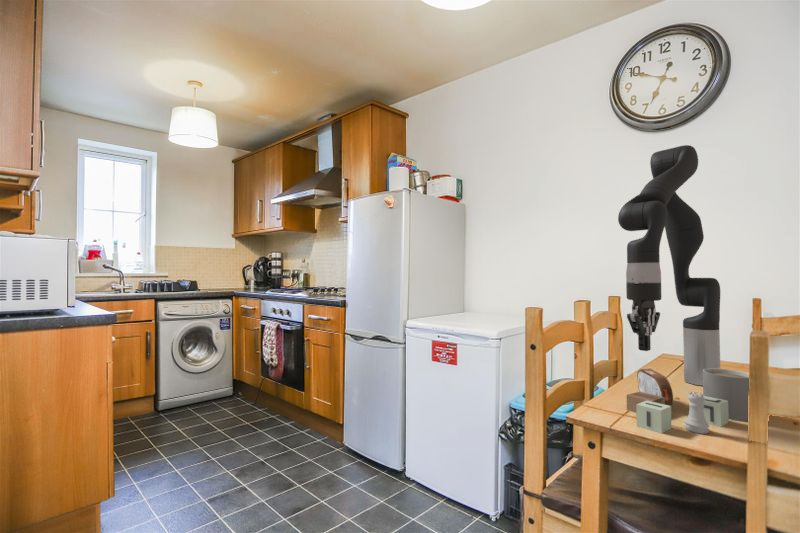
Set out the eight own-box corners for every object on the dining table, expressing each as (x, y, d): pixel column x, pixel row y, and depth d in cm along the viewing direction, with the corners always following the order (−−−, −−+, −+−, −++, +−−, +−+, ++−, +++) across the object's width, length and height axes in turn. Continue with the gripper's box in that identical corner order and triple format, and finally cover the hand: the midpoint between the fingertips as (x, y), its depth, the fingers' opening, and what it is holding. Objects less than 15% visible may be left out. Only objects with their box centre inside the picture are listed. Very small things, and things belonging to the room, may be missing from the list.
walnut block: (640, 406, 104) (640, 391, 104) (665, 413, 98) (664, 397, 99) (626, 410, 101) (626, 394, 101) (651, 418, 95) (651, 401, 96)
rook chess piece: (679, 427, 89) (678, 390, 89) (697, 426, 90) (697, 390, 90) (695, 434, 85) (694, 396, 85) (715, 434, 85) (714, 396, 85)
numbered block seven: (702, 416, 96) (702, 395, 96) (728, 422, 92) (728, 400, 92) (694, 420, 93) (693, 398, 93) (720, 427, 89) (720, 404, 89)
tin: (674, 413, 99) (674, 378, 99) (660, 412, 99) (660, 378, 99) (647, 395, 113) (646, 365, 114) (635, 394, 114) (634, 365, 114)
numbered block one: (647, 422, 92) (646, 399, 93) (671, 428, 88) (671, 405, 88) (636, 426, 90) (636, 403, 90) (661, 434, 85) (660, 410, 86)
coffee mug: (756, 424, 91) (754, 380, 91) (701, 414, 97) (700, 373, 98) (756, 409, 101) (755, 369, 101) (707, 401, 107) (706, 364, 108)
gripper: (639, 281, 107) (640, 345, 107) (614, 281, 100) (615, 350, 99) (671, 281, 101) (672, 350, 101) (647, 281, 94) (648, 355, 93)
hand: (644, 350), depth 100 cm, fingers closed
